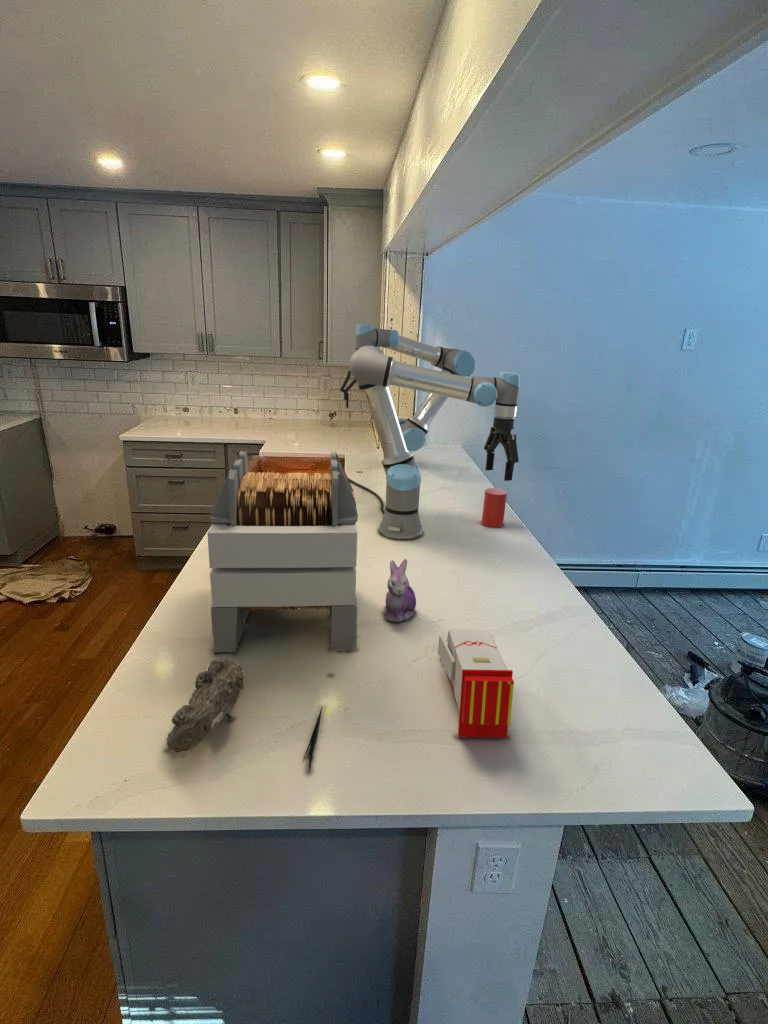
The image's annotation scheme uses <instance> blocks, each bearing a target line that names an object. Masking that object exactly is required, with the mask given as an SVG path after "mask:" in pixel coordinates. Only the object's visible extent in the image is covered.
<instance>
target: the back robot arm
mask: <svg viewBox="0 0 768 1024" xmlns="http://www.w3.org/2000/svg"><path fill="white" fill-rule="evenodd" d="M367 345H372V346H376V347H378V348H383V349H386V350H387V349H388V350H390V351H393V352H396V353H400V354H403V355H406V356H409V357H412V358H415V359H419V360H421V361H424V362H427V363H430V365H431V366H433V367H436V368H438V369H440V371H441V372H446V373H450V374H455V375H459V376H464V377H472V376H473V374H474V373H475V371H476V369H477V362H476V358H475V355H474V354H472V352H469V351H467V350H464V349H457V348H449V347H443V346H440V345H437V346H434V345H430V344H426V343H424V342H422V341H418V340H415V339H412V338H408V337H405V336H403V335H400V333H399V331H398V330H397V329H387V328H379V327H374V325H373V324H371V323H358V324H357V325H356V326H355V349H354V350H355V351H354V353H355V352H356V350H357V349H359V348H360V347H363V346H367ZM351 377H353V375H352V374H351V371H350V370H347V374H346V377H345V379H344V381H343V383H342V385H341V387H340V389H339V391H340V392H342V393H343V400H344V401H345V402H346V403H345V407H346V409H349V401H350V400H349V398H350V397H349V396H350V394H349V391H350V390H351V388H353V387H354V385H355V384H357V381H356V379H355V378H354V377H353V380H351V382H350V383H349V384H348V382H349V380H350V378H351ZM448 398H449V397H446V396H441V395H436V394H432V393H427V395H426V397H425V398H424V400H423V401H422V403H421V405H419V407H418V409H417V410H416V412H415V413H414V415H413V416H409V417H408V418H403V417H402V418H399V417H398V421H399V424H400V427H401V431H402V434H403V437H404V441H405V444H406V448H407V450H408V451H410V452H416V451H419V450H420V449H422V448H423V447H424V445H425V443H426V435H428V433H429V426H430V424H431V423H432V422H433V420H434V419H435V417H436V415H437V414H438V413H439V411H440V410H441V409H442V407H443V405H444V404H445V402H446V401H447V400H448ZM384 457H385V456H384V455H383V458H384Z"/></svg>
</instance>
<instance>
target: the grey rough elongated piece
mask: <svg viewBox="0 0 768 1024" xmlns="http://www.w3.org/2000/svg"><path fill="white" fill-rule="evenodd" d="M243 670H244V669H243V667H242V665H240V664H237V662H236V661H235V660H234V659H232V658H231V659H227V658H226V659H224V660H223V661H222V660H217V659H212V660H211V661H210V663H209V665H208V666H207V671H201V672H199V673H198V674H197V675H196V676H195V680H194V684H195V685H194V687H195V689H194V690H193V693H192V694H191V697H190V698H189V700H188V704H184V705H182V706H181V707H180V709H177V710H176V711H175V713H174V715H173V716H172V718H171V723H172V724H173V727H172V730H171V731H170V732H168V734H167V738H166V741H167V742H166V745H167V749H168V750H169V751H173V752H174V753H176V754H178V753H182V752H188V751H189V752H192V751H193V750H195V748H196V747H197V746H199V744H200V743H201V742H203V741H204V740H205V739H206V738H207V737H208V736H209V735H210V734H211V733H212V732H214V730H215V729H217V727H218V726H219V724H220V722H221V721H222V720H223V719H224V718H225V716H226V717H227V719H229V720H233V717H232V715H230V714H229V710H230V709H231V708H234V706H235V704H236V703H237V702H238V699H239V697H240V695H241V693H242V691H243V690H245V689H244V688H245V675H244V671H243Z"/></svg>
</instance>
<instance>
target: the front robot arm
mask: <svg viewBox="0 0 768 1024" xmlns="http://www.w3.org/2000/svg"><path fill="white" fill-rule="evenodd" d="M349 371H351V374H352V377H353V379H354V378H355V379H356V381H357V382H356V384H357V387H358V390H359V391H360V392H362V393H364V394H365V399H366V401H367V404H368V408H369V410H370V414H371V417H372V421H373V424H374V427H375V430H376V434H377V437H378V440H379V443H380V446H381V450H382V453H383V459H382V461H381V463H382V467H383V471H384V474H385V481H386V482H385V483H386V485H385V504H384V502H383V501H384V500H382V497H381V496H380V495H378V493H376V492H375V491H373V490H372V489H370V488H368V487H367V486H364V485H362V484H360V483H358V482H357V481H354V480H352V479H351V478H349V477H348V480H349V482H350V484H351V483H352V484H353V485H354V486H357V487H359V488H361V489H363V490H365V491H367V492H368V493H370V494H372V495H374V496H375V497H376V498H377V499H378V500H379V502H380V511H381V513H382V514H383V515H382V519H381V522H379V526H378V533H379V534H380V535H381V536H382V537H385V538H387V539H389V540H395V541H410V540H415V539H418V538H420V537H421V536H422V535H423V525H422V524H421V518H420V515H419V507H420V506H419V505H420V504H419V503H420V490H421V483H422V475H421V474H422V473H421V471H420V469H419V467H418V465H417V463H416V461H415V457H414V453H413V451H411V452H410V451H408V450H407V448H406V444H405V441H404V437H403V434H402V431H401V427H400V424H399V421H398V418H399V416H398V414H397V411H396V408H395V403H394V400H393V397H392V393H391V390H390V386H395V387H400V388H405V389H409V390H414V391H419V392H422V393H423V392H424V393H427V394H429V393H432V394H436V395H441V396H446V397H448V398H451V399H456V400H460V401H464V402H468V403H473V404H476V405H478V406H480V407H489V406H492V405H493V404H494V403H495V405H494V411H493V415H494V417H493V422H492V426H491V427H490V429H489V434H488V437H487V439H486V441H485V444H484V446H483V450H485V453H486V459H485V470H484V471H493V470H494V462H495V450H496V449H497V448H498V446H499V444H500V445H501V446H502V447H503V450H504V454H505V457H506V460H507V461H506V462H505V469H504V478H503V481H505V482H510V481H511V482H512V481H513V475H514V474H513V473H514V467H515V464H517V463H519V462H520V459H519V453H518V445H517V434H515V433H512V431H513V430H514V429H515V427H516V416H517V411H518V401H519V393H520V388H521V375H520V374H519V372H515V371H500V372H499V373H498V375H497V376H496V377H489V376H488V377H487V376H486V377H485V376H475V375H471V376H469V377H464V376H459V375H455V374H450V373H446V372H442V371H441V370H437V369H432V368H428V367H423V366H418V365H415V364H409V363H406V362H401V361H397V360H396V359H395V357H394V356H389V355H386V354H385V353H384V351H382V349H381V348H380V347H376V346H372V345H367V346H363V347H360V348H359V349H357V350H356V352H355V351H354V352H353V354H352V355H351V357H350V360H349ZM384 456H385V457H384ZM384 505H385V507H384ZM384 508H385V509H384Z"/></svg>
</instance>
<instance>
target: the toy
mask: <svg viewBox="0 0 768 1024" xmlns="http://www.w3.org/2000/svg"><path fill="white" fill-rule="evenodd" d="M446 640H447V643H446V641H445V639H444V636H443V635H442V634H439V637H438V646H437V656H438V657H439V659H440V661H441V663H442V666H443V668H444V670H445V672H446V674H447V677H448V679H449V681H450V684H451V687H452V690H453V693H454V697H455V701H456V705H457V708H458V711H459V714H458V715H459V716H458V730H457V731H458V732H457V737H458V738H508V731H509V726H510V725H511V717H512V707H513V697H514V696H513V695H514V684H515V680H514V679H513V673H514V671H513V670H512V669H508V667H507V665H506V662H505V661H504V659H503V658H502V655H501V653H500V651H499V649H498V647H497V643H496V639H495V637H494V635H493V634H491V632H490V631H489V629H467V628H466V629H465V628H463V629H461V628H460V629H459V628H448V630H447V639H446Z"/></svg>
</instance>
